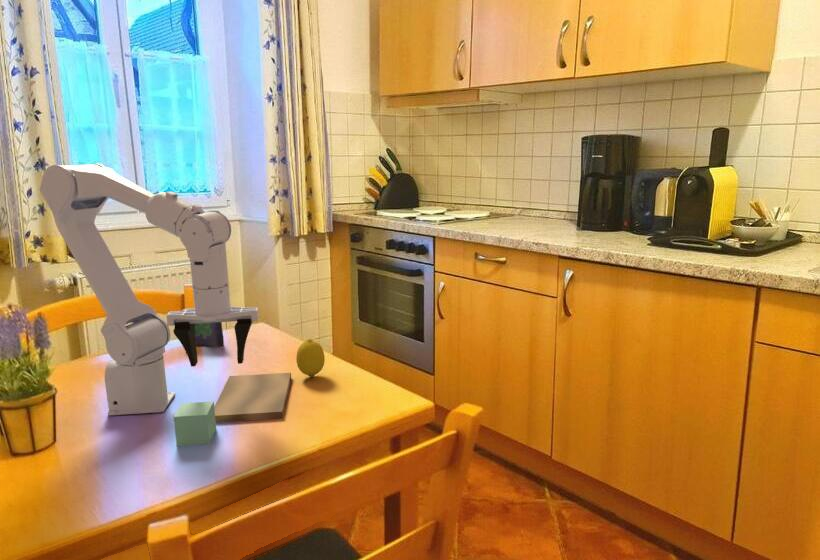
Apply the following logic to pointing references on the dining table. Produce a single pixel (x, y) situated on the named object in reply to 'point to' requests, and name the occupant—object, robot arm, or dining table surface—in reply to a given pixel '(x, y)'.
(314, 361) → the lemon
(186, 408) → the block
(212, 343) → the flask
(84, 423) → the dining table surface
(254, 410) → the board
